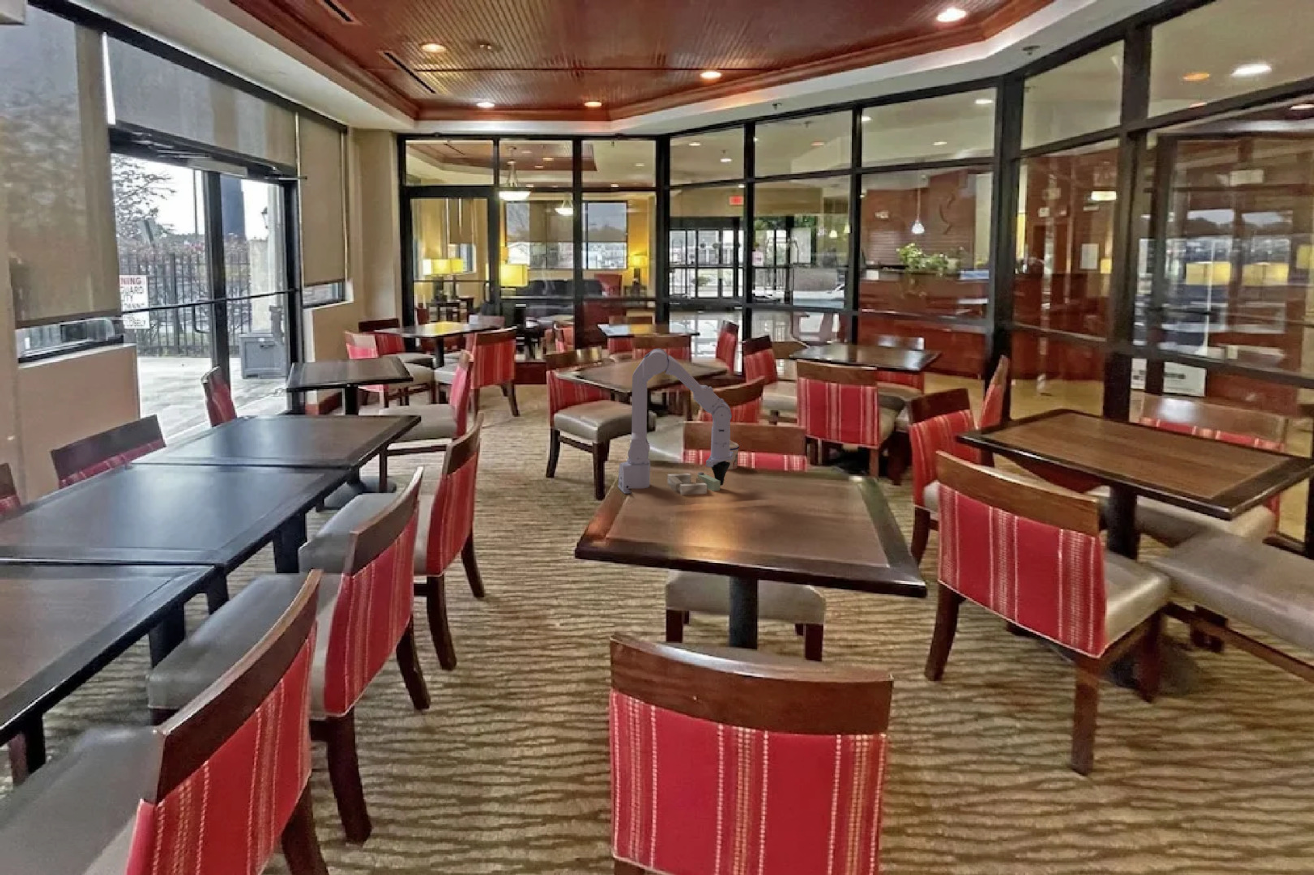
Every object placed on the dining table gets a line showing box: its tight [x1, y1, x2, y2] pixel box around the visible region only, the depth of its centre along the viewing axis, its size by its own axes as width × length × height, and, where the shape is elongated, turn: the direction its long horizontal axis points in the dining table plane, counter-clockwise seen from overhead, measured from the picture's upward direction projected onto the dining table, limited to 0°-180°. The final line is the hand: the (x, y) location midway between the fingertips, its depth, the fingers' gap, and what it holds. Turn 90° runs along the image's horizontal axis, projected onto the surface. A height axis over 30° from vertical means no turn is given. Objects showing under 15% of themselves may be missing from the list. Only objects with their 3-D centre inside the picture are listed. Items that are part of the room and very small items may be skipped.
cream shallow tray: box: [667, 472, 708, 496], centre depth 279 cm, size 14×14×4 cm
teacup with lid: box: [726, 439, 740, 471], centre depth 306 cm, size 12×9×12 cm
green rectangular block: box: [697, 471, 721, 492], centre depth 280 cm, size 2×10×3 cm, turn 30°
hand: (719, 484), depth 279 cm, fingers closed, pressing on green rectangular block
